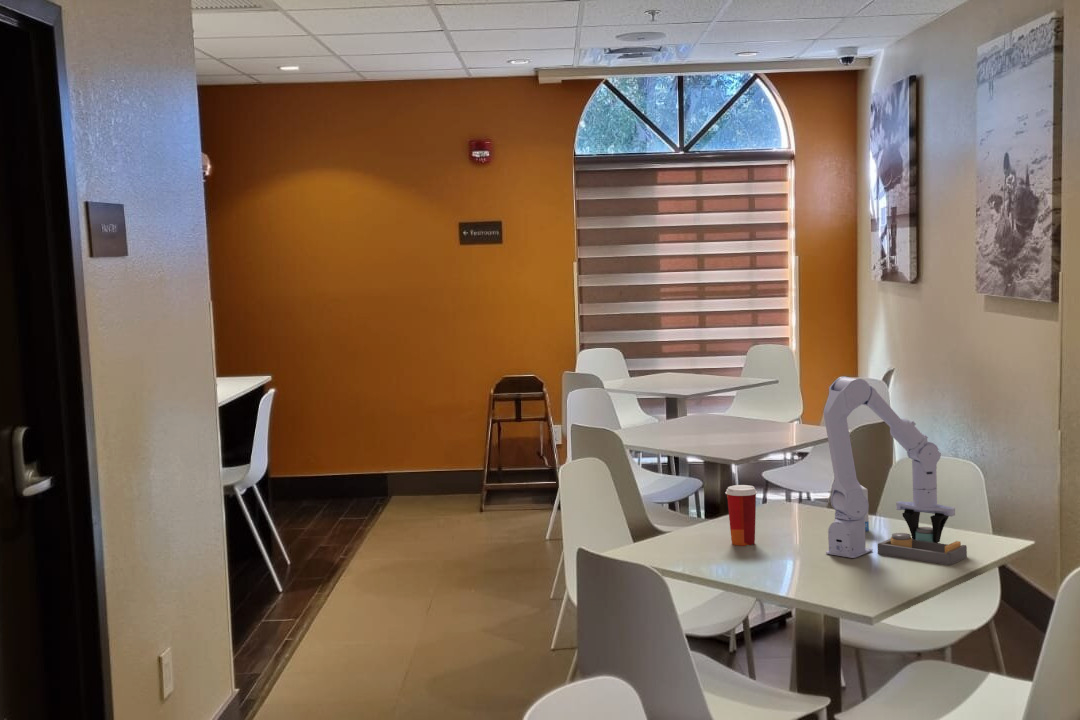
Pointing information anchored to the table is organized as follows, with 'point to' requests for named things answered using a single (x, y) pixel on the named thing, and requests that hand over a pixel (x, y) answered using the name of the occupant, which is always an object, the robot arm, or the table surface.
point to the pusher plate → (952, 546)
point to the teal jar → (924, 534)
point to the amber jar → (901, 540)
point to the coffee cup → (742, 514)
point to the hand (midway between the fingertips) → (926, 540)
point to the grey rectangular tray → (924, 552)
